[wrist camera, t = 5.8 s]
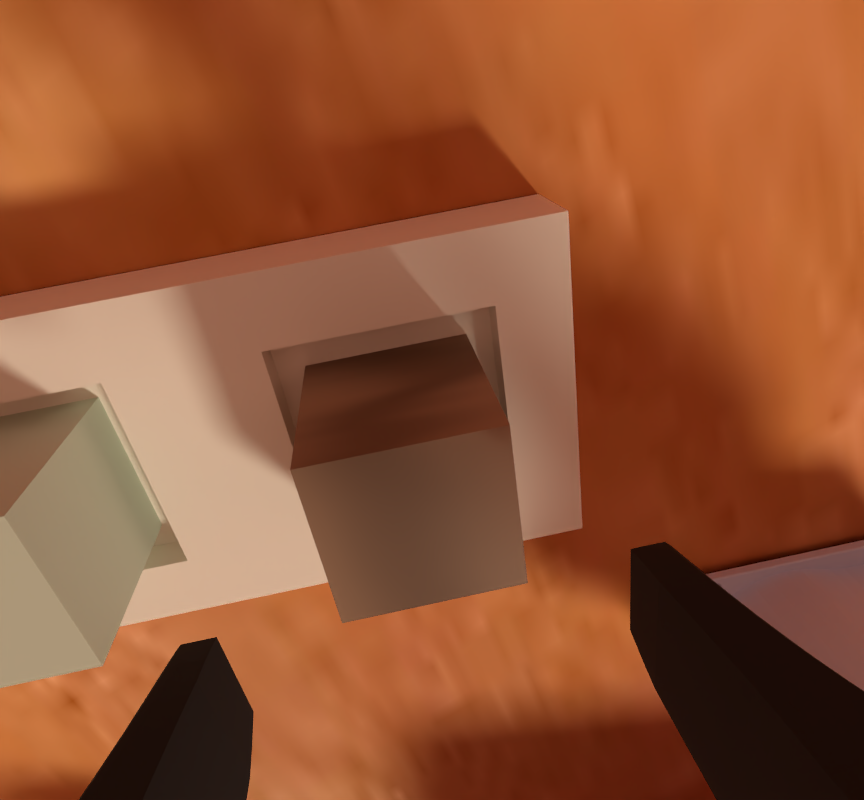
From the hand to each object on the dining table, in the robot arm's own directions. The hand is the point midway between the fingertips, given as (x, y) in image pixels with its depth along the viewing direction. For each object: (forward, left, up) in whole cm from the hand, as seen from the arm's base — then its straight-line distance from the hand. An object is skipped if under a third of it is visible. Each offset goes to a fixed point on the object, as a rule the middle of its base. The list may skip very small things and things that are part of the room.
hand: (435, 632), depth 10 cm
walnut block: (0, 0, -8) cm, 8 cm away
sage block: (+10, 0, -8) cm, 13 cm away
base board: (+5, 0, -9) cm, 11 cm away
